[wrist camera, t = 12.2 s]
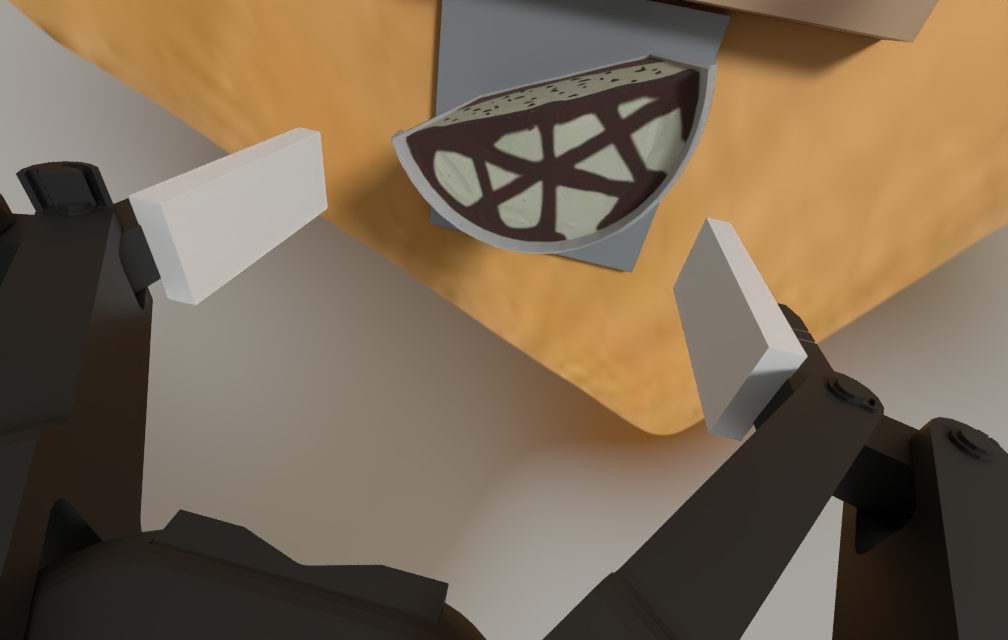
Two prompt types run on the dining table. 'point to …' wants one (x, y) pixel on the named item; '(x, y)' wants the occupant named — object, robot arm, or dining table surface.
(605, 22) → the mat
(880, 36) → the wooden frame
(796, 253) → the dining table surface
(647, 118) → the food container
